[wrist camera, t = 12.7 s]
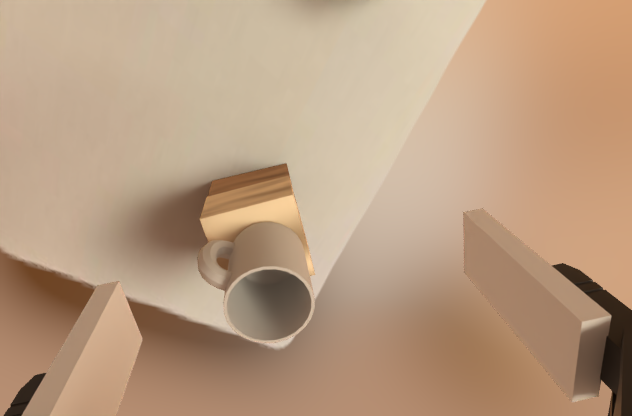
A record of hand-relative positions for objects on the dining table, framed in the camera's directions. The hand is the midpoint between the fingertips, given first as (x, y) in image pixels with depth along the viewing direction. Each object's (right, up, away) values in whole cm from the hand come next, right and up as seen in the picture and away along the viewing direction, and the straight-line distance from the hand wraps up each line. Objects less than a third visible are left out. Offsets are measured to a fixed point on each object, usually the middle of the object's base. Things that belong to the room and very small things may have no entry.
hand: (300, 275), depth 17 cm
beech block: (-6, +1, +31) cm, 32 cm away
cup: (-5, -1, +26) cm, 27 cm away
